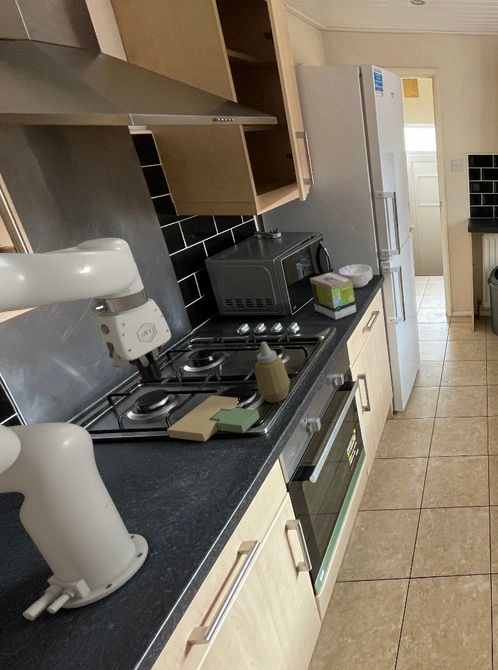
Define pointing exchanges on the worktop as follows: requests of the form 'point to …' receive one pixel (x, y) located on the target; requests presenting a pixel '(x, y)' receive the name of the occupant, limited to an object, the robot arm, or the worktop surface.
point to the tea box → (333, 295)
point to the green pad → (236, 419)
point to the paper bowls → (357, 274)
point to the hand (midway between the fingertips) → (152, 378)
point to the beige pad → (202, 419)
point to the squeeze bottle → (271, 375)
